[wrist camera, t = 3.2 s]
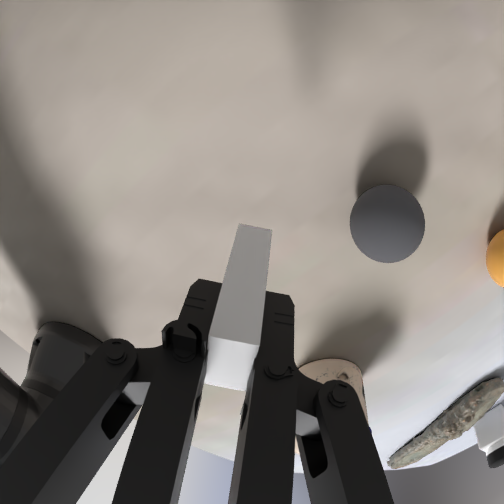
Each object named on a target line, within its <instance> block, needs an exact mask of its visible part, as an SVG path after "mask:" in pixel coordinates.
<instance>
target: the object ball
mask: <svg viewBox="0 0 504 504" xmlns="http://www.w3.org/2000/svg"><path fill="white" fill-rule="evenodd" d="M486 265H487V269H488V272H489V274H490V276H491V278H492V279H493V280H494V281H495V282H496V283H497V284H498V285H499V286H501V287H503V288H504V229H503V230H501V231H500V232H498V233H497V234H496V235H495V236H494V237H493V238H492V240H491V241H490V243H489V246H488V249H487V253H486Z"/></svg>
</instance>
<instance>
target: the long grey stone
mask: <svg viewBox="0 0 504 504" xmlns="http://www.w3.org/2000/svg"><path fill="white" fill-rule="evenodd" d="M503 392H504V381H503V379H501V378H495V379H491V380H489V381H487V382H482V383H481V384H480V385H478V386H477V387H476V388H474V389H473V390H472V391H470V392H469V393H467V394H466V395H465V396H463V397H461V398H460V399H459V400H458V401H457V402H456V403H454V404H453V406H451V407H450V408H448V409H447V410H444V411H443V413H442V414H441V415H440V416H439V417H438V419H437V420H436V421H434V422H433V423H432V424H431V425H430V426H428V427H427V429H426V430H425V431H424V433H423V434H422V435H419V436H418V437H415V438H413V440H412V441H411V442H410V443H409V444H408V445H406V446H404V447H402V448H401V449H399V450H398V451H397V452H396V453H395V454H394V455H393V456H391V457H390V461H387V464H388V466H390V467H391V468H392V469H397V468H401V467H404V466H407V465H409V464H412V463H415V462H417V461H419V460H420V459H422V458H423V457H425V456H426V455H428V454H430V453H431V452H433V451H435V450H436V449H438V448H439V447H440V446H441V445H443V444H444V443H446V442H447V441H448V440H453V439H456V438H458V437H460V436H461V435H462V433H463V432H465V431H468V430H469V429H470V428H471V427H472V426H473V425H474V424H475V423H476V422H477V421H478V420H480V419H481V418H483V417H484V415H485V413H486V412H487V411H488V410H489V409H490V408H491V407H492V406H493V405H494V403H495V402H496V401H497V400H498V399H499V397H500V396H501V394H502V393H503Z"/></svg>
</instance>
